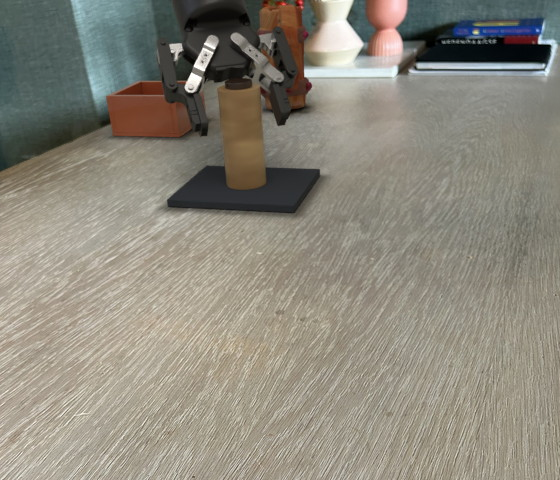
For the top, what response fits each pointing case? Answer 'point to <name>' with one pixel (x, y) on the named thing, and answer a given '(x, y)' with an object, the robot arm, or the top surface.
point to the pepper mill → (242, 133)
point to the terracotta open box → (147, 111)
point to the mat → (246, 191)
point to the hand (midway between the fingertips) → (244, 126)
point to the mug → (295, 35)
